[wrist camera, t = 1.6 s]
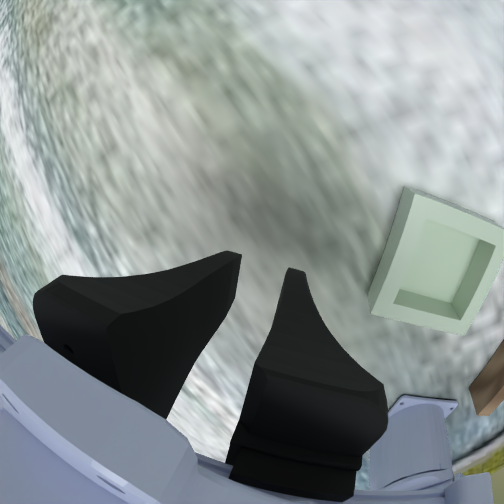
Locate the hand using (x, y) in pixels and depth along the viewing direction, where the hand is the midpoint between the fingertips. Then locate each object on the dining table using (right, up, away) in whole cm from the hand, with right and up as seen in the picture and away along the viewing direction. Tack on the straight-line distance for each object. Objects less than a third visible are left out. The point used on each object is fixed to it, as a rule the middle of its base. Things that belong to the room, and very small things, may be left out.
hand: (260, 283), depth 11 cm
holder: (+13, +1, +7) cm, 15 cm away
